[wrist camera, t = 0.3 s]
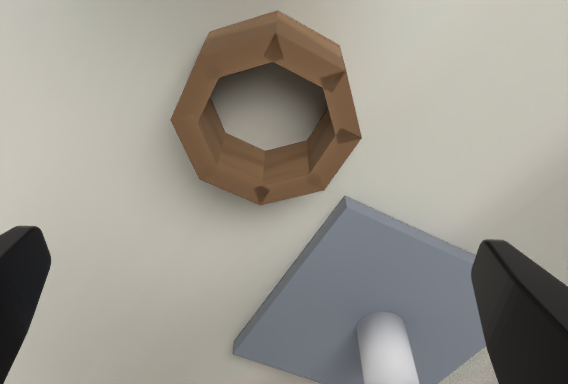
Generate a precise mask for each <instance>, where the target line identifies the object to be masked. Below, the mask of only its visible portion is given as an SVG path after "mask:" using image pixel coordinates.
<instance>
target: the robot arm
mask: <svg viewBox="0 0 568 384" xmlns="http://www.w3.org/2000/svg"><path fill="white" fill-rule="evenodd" d="M50 266H51V256H50V252H49V250H48V247H47V244H46V242H45V239H44V236H43V233H42V231H41V230H40V228H38V227H36V226H16V227H14V228H12V229H10V230H9V231H7V232H5V233H3V234H2V235H0V384H3V383H4V381H5V379H6V377H7V375H8V373H9V371H10V368H11V366H12V364H13V362H14V360H15V358H16V356H17V354H18V352H19V350H20V347H21V345H22V343H23V341H24V339H25V337H26V334H27V332H28V329H29V327H30V324H31V321H32V319H33V316H34V313H35V310H36V307H37V304H38V301H39V298H40V295H41V293H42V290H43V287H44V284H45V281H46V278H47V275H48V272H49V269H50ZM471 280H472V285H473V289H474V294H475V299H476V303H477V308H478V312H479V317H480V321H481V326H482V330H483V335H484V339H485V343H486V347H487V350H488V353H489V356H490V359H491V362H492V365H493V368H494V371H495V374H496V377H497V380H498V382H499V384H568V286H566V285H565V284H564V283H562V282H561V281H559V280H558V279H557V278H555V277H554V276H553V275H551V274H550V273H549V272H547V271H546V270H544V269H543V268H542V267H540V266H539V265H538V264H536V263H535V262H534V261H532V260H531V259H530V258H528V257H527V256H525V255H524V254H523V253H521V252H520V251H519V250H517V249H516V248H515V247H513V246H512V245H511V244H509V243H508V242H506V241H504V240H493V239H486V240H483V241H482V242H481V244H480V246H479V249H478V252H477V254H476V257H475V260H474V263H473V266H472V269H471Z"/></svg>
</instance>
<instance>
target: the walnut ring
mask: <svg viewBox="0 0 568 384" xmlns="http://www.w3.org/2000/svg"><path fill="white" fill-rule="evenodd" d="M271 62H274V63H276V64H278V65H280V66H282V67H284V68H286V69H288V70H290V71H291V72H293V73H295V74H297V75H299V76H301V77H303V78H305V79H307V80H309V81H311V82H312V83H314V84H316V85H318V86H320V87H322V88H323V91H324V94H325V98H326V102H327V105H328V109H327V111H326V112H325V114H324V115H323V117H322V118H321V120H320V121H319V123H318V125H317V126H316V128H315V129H314V131H313V132H312V134H311V135H310V137H309V138H308V140H307V141H303V142H299V143H296V144H292V145H288V146H284V147H280V148H276V149H272V150H268V151H263V150H261V149H259V148H257V147H255V146H253V145H250V144H248V143H246V142H244V141H242V140H240V139H238V138H235V137H233V136H231V135H229V134H227V133H225V131H224V129H223V126H222V124H221V121H220V119H219V117H218V114H217V112H216V110H215V107H214V105H213V102H212V100H211V98H210V95H211V93H212V91H213V89H214V87H215V85H216V83H217V81H218V79H219V78H220V77H223V76H226V75H230V74H233V73H237V72H240V71H243V70H247V69H250V68H254V67H257V66H260V65H264V64H267V63H271ZM171 122H172V124H173V126H174V128H175V130H176V132H177V134H178V136H179V138H180V140H181V142H182V144H183V146H184V148H185V150H186V153H187V155H188V157H189V159H190V161H191V163H192V165H193V167H194V169H195V171H196V173H197V175H198V177H199V179H200V180H203V181H205V182H207V183H210V184H212V185H214V186H217V187H219V188H221V189H224V190H226V191H228V192H231V193H233V194H235V195H238V196H240V197H242V198H245V199H247V200H249V201H252V202H254V203H256V204H259V205H264V204H268V203H272V202H276V201H280V200H285V199H289V198H293V197H297V196H302V195H306V194H310V193H314V192H318V191H323V190H325V188H326V187H327V185H328V184H329V183H330V181H331V180H332V179H333V177H334V176H335V174H336V173H337V172H338V170H339V169H340V167H341V166H342V165H343V163H344V162H345V161H346V159H347V158H348V156H349V155H350V154H351V152H352V151H353V149H354V148H355V147H356V145H357V144H358V142H359V141H360V140H361V138H362V137H361V133H360V129H359V124H358V120H357V116H356V112H355V107H354V103H353V99H352V94H351V90H350V86H349V81H348V77H347V73H346V68H345V64H344V61H343V57H342V53H341V50H340V46H339V45H338V44H336V43H334V42H333V41H331V40H329V39H327V38H325V37H324V36H322V35H320V34H318V33H317V32H315V31H313V30H311V29H309V28H308V27H306V26H304V25H302V24H300V23H299V22H297V21H295V20H293V19H292V18H290V17H288V16H286V15H284V14H283V13H281V12H279V11H275V12H272V13H268V14H265V15H262V16H259V17H256V18H252V19H249V20H246V21H243V22H240V23H236V24H233V25H230V26H227V27H224V28H220V29H217V30H214V31H211V32H210V33H209V35H208V37H207V39H206V41H205V43H204V45H203V47H202V49H201V51H200V54H199V56H198V58H197V61H196V63H195V65H194V67H193V70H192V72H191V74H190V77H189V79H188V81H187V84H186V86H185V88H184V90H183V93H182V95H181V97H180V100H179V102H178V104H177V107H176V109H175V111H174V113H173V116H172V118H171Z"/></svg>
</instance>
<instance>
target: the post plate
mask: <svg viewBox="0 0 568 384" xmlns="http://www.w3.org/2000/svg"><path fill="white" fill-rule="evenodd" d="M475 257H476V256H475V255H473V254H471V253H468V252H466V251H464V250H462V249H460V248H458V247H455V246H453V245H451V244H449V243H447V242H445V241H442V240H440V239H438V238H436V237H434V236H431V235H429V234H427V233H425V232H423V231H421V230H418V229H416V228H414V227H412V226H410V225H408V224H405V223H403V222H401V221H399V220H397V219H394V218H392V217H390V216H388V215H386V214H384V213H381V212H379V211H377V210H375V209H373V208H371V207H368V206H366V205H364V204H362V203H360V202H357V201H355V200H353V199H351V198H349V197H347V196H344V198H343V199H342V200H341V202H340V203H339V204H338V206H337V207H336V208H335V210H334V211H333V212H332V214H331V215H330V216H329V217H328V219H327V220H326V221H325V223H324V224H323V225H322V227H321V228H320V229H319V231H318V232H317V233H316V235H315V236H314V237H313V239H312V240H311V241H310V242H309V244H308V245H307V246H306V248H305V249H304V250H303V252H302V253H301V254H300V256H299V257H298V258H297V260H296V261H295V262H294V264H293V265H292V266H291V267H290V269H289V270H288V271H287V273H286V274H285V275H284V277H283V278H282V279H281V281H280V282H279V283H278V285H277V286H276V287H275V289H274V290H273V291H272V292H271V294H270V295H269V296H268V298H267V299H266V300H265V302H264V303H263V304H262V306H261V307H260V308H259V310H258V311H257V312H256V314H255V315H254V316H253V317H252V319H251V320H250V321H249V323H248V324H247V325H246V327H245V328H244V329H243V331H242V332H241V333H240V335H239V336H238V337H237V339H236V340H235V341H234V348H233V354H234V355H237V356H240V357H243V358H246V359H249V360H252V361H255V362H258V363H262V364H265V365H268V366H271V367H274V368H277V369H280V370H283V371H286V372H289V373H292V374H295V375H298V376H301V377H304V378H307V379H310V380H314V381H317V382H320V383H323V384H438V383H439V382H440V381H441V380H443V379H444V378H445V377H447V376H448V375H449V374H450V373H452V372H453V371H454V370H456V369H457V368H458V367H459V366H461V365H462V364H463V363H465V362H466V361H467V360H468V359H470V358H471V357H472V356H473V355H475V354H476V353H477V352H479V351H480V350H481V349H482V348H484V347H485V346H486V343H485V339H484V335H483V330H482V326H481V321H480V317H479V312H478V308H477V303H476V299H475V294H474V289H473V285H472V280H471V269H472V266H473V263H474V260H475Z"/></svg>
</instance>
